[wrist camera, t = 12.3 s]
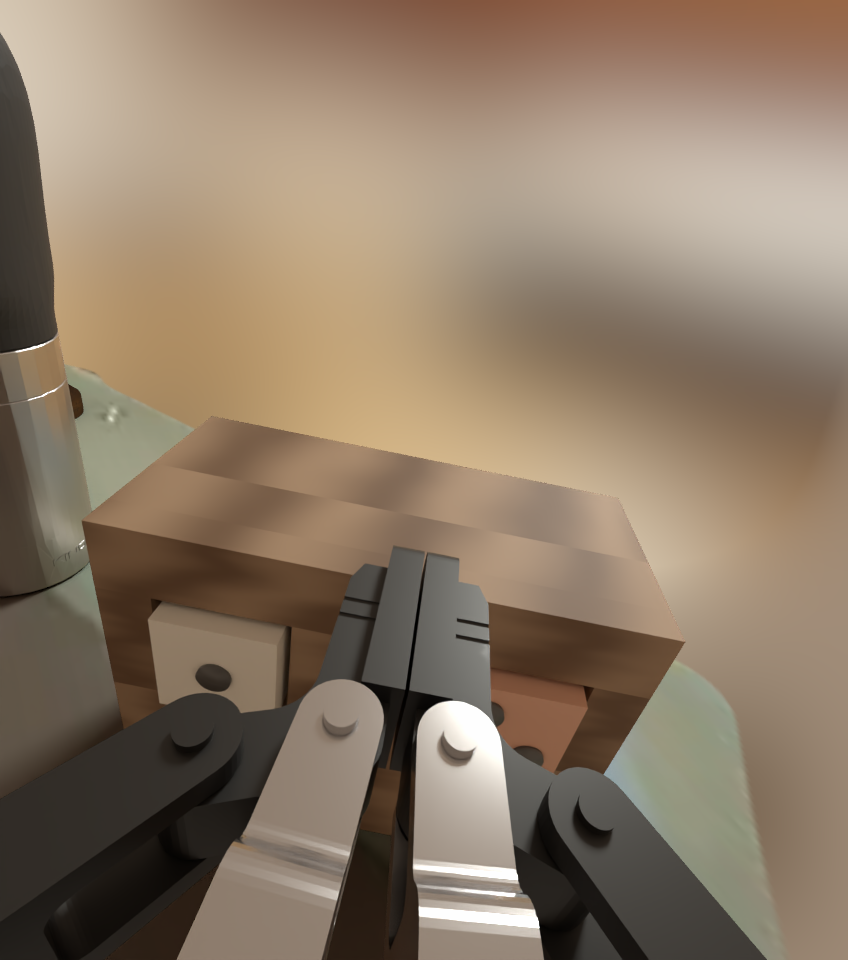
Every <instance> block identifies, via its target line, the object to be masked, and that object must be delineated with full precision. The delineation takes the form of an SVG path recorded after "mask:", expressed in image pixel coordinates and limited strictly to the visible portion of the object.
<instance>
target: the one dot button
mask: <svg viewBox="0 0 848 960" xmlns="http://www.w3.org/2000/svg"><path fill="white" fill-rule="evenodd" d="M148 624H149V632H150V639H151V646H152V653H153V660H154V667H155V675H156V682H157V689H158V696H159V703H162V704H167V705H168V704H169V703H171V702H173V701H175V700H177V699H179V698H182V697H184V696H187V695H191V694H196V693H214V694H218V695H221V696H223V697H226V698H228V699H229V700H230V701H232V702H233V703H234V704H235V705H236V706H237V707H238V709H239V711H240V712H241V713H244V712H253V711H261V710H269V709H275V708H280V707H282V705H283V702H284V700H285V697H286V694H287V692H288V683H289V666H290V649H291V632H292V627H290V626H285V625H280V624H275V623H270V622H265V621H260V620H255V619H250V618H245V617H240V616H235V615H230V614H225V613H220V612H215V611H210V610H205V609H200V608H195V607H190V606H185V605H180V604H175V603H170V602H165V601H162V602H161V603H160V605H159V606H158V607H157V608H156V610H155V611H154V612H153V613H152V615H151V616H150V617H149V619H148Z"/></svg>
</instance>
